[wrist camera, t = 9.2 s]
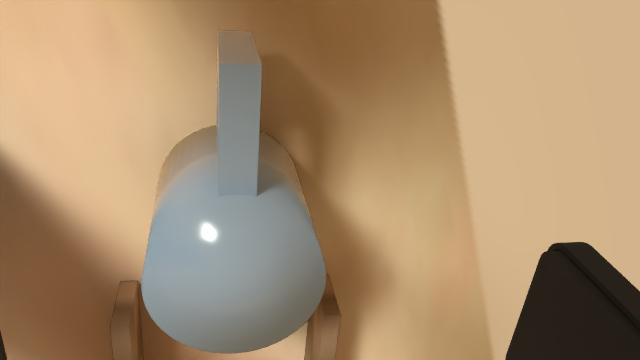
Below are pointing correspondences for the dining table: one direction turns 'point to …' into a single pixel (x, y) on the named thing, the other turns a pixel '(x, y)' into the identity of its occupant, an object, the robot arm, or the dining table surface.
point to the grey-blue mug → (232, 226)
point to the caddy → (130, 337)
